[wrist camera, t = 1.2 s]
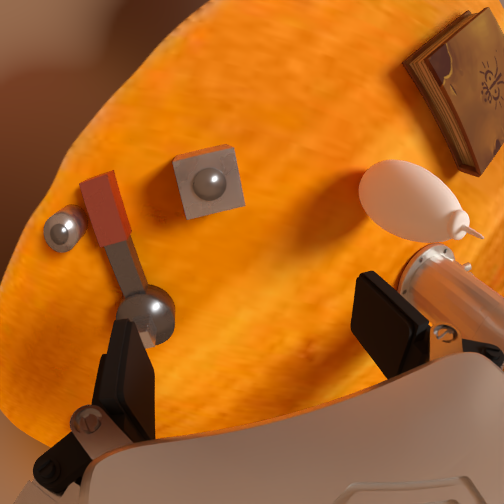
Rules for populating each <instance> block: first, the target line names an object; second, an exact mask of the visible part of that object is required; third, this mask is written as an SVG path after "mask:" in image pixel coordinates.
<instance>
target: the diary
mask: <svg viewBox="0 0 504 504" xmlns="http://www.w3.org/2000/svg"><path fill="white" fill-rule="evenodd" d="M402 64H403V65H404V67H405V68H406V70H407V72H408V73H409V75H410V76H411V78H412V79H413V81H414V83H415V84H416V86H417V88H418V89H419V91H420V93H421V94H422V96H423V98H424V100H425V101H426V103H427V105H428V107H429V109H430V110H431V112H432V114H433V116H434V118H435V120H436V122H437V124H438V126H439V128H440V130H441V132H442V134H443V136H444V138H445V140H446V142H447V144H448V147H449V149H450V151H451V153H452V156H453V158H454V160H455V163H456V165H457V167H458V169H459V170H460V171H461V172H464V173H467V174H470V175H473V176H476V177H479V176H480V175H481V174H482V173H483V172H484V170H485V169H486V168H487V166H488V165H489V163H490V162H491V161H492V159H493V158H494V156H495V155H496V153H497V152H498V150H499V149H500V147H501V146H502V144H503V143H504V34H503V32H502V30H501V28H500V26H499V25H498V23H497V21H496V19H495V17H494V15H493V14H492V12H491V10H490V8H489V7H487V8H484V9H483V10H482V11H480V12H479V13H475V14H471V12H470V11H466V12H465V13H464V14H462V15H461V16H460V17H459V18H457V19H456V20H455V21H453V22H452V23H451V24H449V25H448V26H447V27H446V28H444V29H443V30H442V31H441V32H439V33H438V34H437V35H436V36H434V37H433V38H432V39H430V40H429V41H428V42H427V43H426V44H424V45H423V46H422V47H421V48H419V49H418V50H417V51H416V52H414V53H413V54H412V55H411V56H410V57H408V58H407V59H406V60H405V61H404V62H402Z"/></svg>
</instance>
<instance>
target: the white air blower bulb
mask: <svg viewBox="0 0 504 504" xmlns="http://www.w3.org/2000/svg"><path fill="white" fill-rule="evenodd" d="M359 199H360V202H361V205H362V207H363V208H364V210H365V212H366V213H367V215H368V216H369V217H370V218H371V219H372V220H373V221H374V222H375V223H376V224H377V225H379V226H380V227H382V228H383V229H384V230H386V231H388V232H390V233H391V234H394V235H396V236H398V237H401V238H404V239H407V240H411V241H417V242H425V243H434V242H442V241H446V240H449V239H451V238H452V239H454V240H460V239H462V238H463V237H464V236H465V234H466V232H467V233H469V234H471V235H473V236H476V237H478V238H481V239H484V237H483V236H482V235H481V234H479V233H478V232H476V231H475V230H473V229H471V228H469V217H468V215H467V213H466V212H465V211H463V210H462V208H461V206H460V204H459V202H458V200H457V198H456V197H455V196H454V194H453V193H452V192H451V190H450V189H449V188H448V187H447V186H446V185H445V184H444V183H443V182H442V181H441V180H440V179H439V178H437V177H436V176H435V175H434V174H432V173H431V172H429V171H428V170H426V169H424V168H422V167H420V166H418V165H415V164H413V163H410V162H407V161H401V160H386V161H381V162H378V163H376V164H374V165H373V166H371V167H370V168H369V169H368V170H367V171H366V172H365V173H364V175H363V177H362V178H361V181H360V184H359Z"/></svg>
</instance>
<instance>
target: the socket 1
mask: <svg viewBox="0 0 504 504" xmlns="http://www.w3.org/2000/svg"><path fill="white" fill-rule="evenodd" d="M87 229H88V218H87V215H86V213H85V212H84V210H83V209H82V208H80V207H79V206H77V205H67V206H65V207H64V208H62V209H61V210H59V211H58V212H57V213H55V214H54V215H53V216H51V217H50V218H49V219H48V220H47V221H46V223H45V226H44V237H45V240H46V242H47V244H48V245H49V246H50V247H51V248H52V249H53V250H55V251H57V252H67V251H69V250H71V249H72V248H73V247H74V246H75V244H76V243H77V242H78V241H79V240H80V239H81V237H82V236H83V235H84V234H85V233H86V231H87Z"/></svg>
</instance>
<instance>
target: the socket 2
mask: <svg viewBox="0 0 504 504" xmlns="http://www.w3.org/2000/svg"><path fill="white" fill-rule="evenodd" d="M172 163H173V167H174V171H175V175H176V179H177V184H178V188H179V192H180V195H181V199H182V203H183V207H184V211H185V215H186V219H187V220H189V219H193V218H197V217H201V216H205V215H209V214H213V213H217V212H221V211H225V210H230V209H234V208H238V207H242V206H245V202H244V197H243V192H242V187H241V181H240V176H239V171H238V166H237V161H236V156H235V151H234V147H232V146H229V145H227V144H224V145H219V146H214V147H210V148H206V149H201V150H197V151H193V152H189V153H185V154H181V155H177V156H176V157H175V158H174V160H173V162H172Z"/></svg>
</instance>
